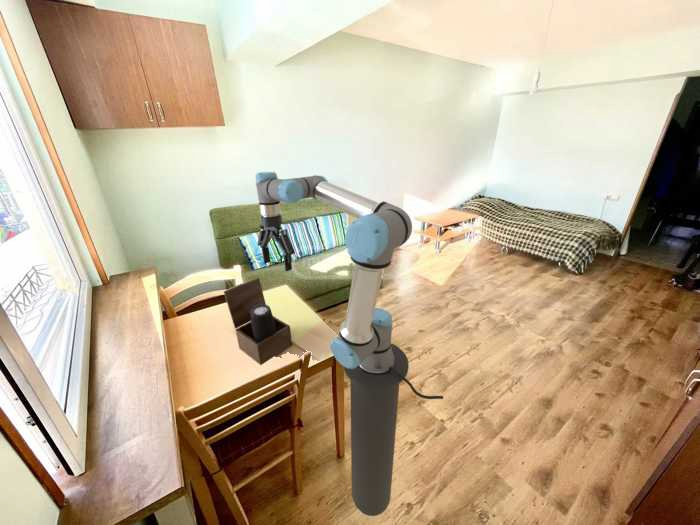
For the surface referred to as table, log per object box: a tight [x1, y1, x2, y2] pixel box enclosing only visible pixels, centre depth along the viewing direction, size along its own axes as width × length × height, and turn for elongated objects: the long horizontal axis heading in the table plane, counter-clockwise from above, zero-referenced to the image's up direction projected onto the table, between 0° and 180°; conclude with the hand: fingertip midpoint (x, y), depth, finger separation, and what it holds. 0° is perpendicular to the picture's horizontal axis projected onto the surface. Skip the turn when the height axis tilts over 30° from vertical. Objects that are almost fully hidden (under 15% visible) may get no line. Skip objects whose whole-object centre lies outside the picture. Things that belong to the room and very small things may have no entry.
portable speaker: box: [250, 303, 276, 343], centre depth 115 cm, size 9×9×20 cm
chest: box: [234, 315, 293, 366], centre depth 119 cm, size 16×16×10 cm
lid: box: [223, 277, 267, 330], centre depth 122 cm, size 17×16×8 cm
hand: (277, 266), depth 113 cm, fingers open, 13 cm apart
